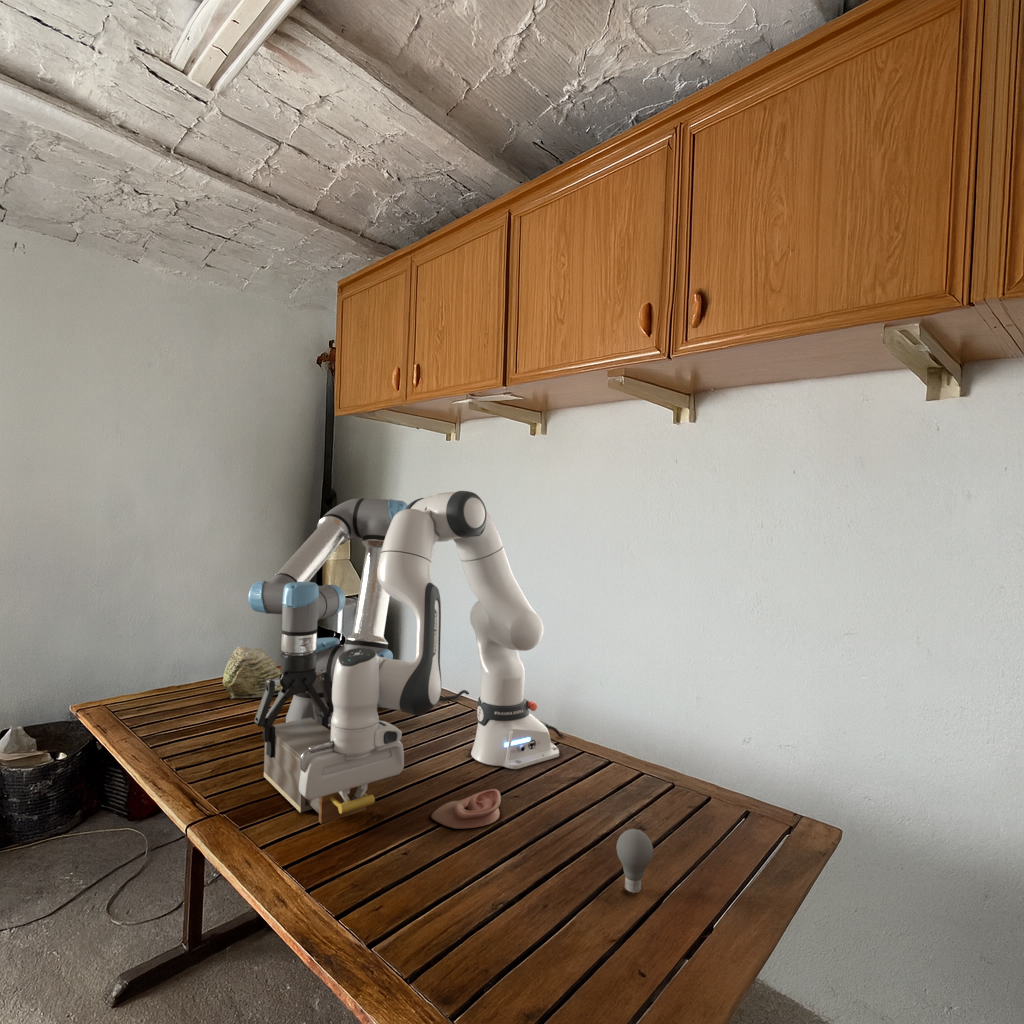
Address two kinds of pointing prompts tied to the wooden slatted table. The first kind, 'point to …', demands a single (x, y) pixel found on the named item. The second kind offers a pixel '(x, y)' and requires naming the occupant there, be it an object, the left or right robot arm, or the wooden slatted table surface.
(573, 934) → the wooden slatted table surface
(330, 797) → the drawer
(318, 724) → the cabinet
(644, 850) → the light bulb
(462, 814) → the anatomical model
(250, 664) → the fossil
